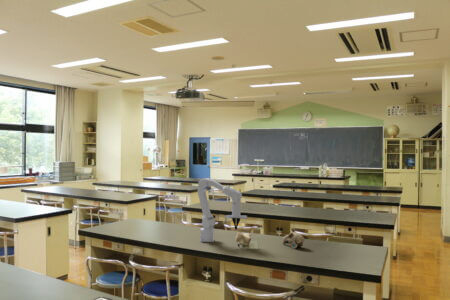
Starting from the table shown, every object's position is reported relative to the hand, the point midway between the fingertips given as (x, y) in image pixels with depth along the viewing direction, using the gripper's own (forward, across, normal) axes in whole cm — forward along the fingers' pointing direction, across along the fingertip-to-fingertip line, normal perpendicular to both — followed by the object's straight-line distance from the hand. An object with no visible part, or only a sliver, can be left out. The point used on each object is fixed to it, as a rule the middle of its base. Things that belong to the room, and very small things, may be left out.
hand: (235, 229), depth 236 cm
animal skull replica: (+11, +38, -3) cm, 40 cm away
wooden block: (+5, +1, 0) cm, 5 cm away
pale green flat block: (+10, +9, 0) cm, 14 cm away
